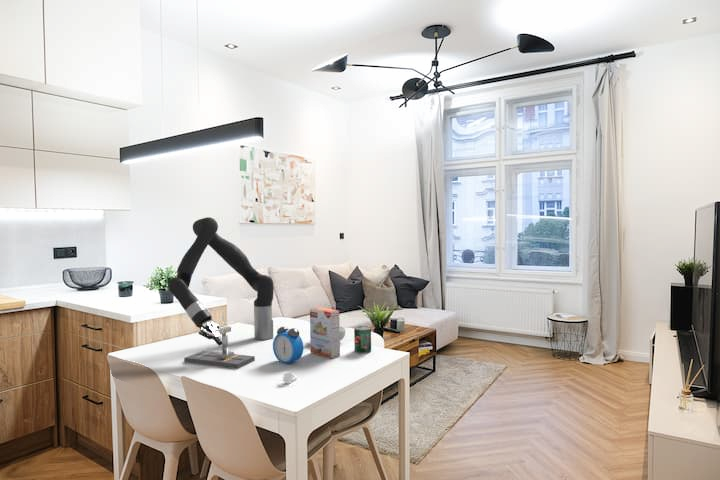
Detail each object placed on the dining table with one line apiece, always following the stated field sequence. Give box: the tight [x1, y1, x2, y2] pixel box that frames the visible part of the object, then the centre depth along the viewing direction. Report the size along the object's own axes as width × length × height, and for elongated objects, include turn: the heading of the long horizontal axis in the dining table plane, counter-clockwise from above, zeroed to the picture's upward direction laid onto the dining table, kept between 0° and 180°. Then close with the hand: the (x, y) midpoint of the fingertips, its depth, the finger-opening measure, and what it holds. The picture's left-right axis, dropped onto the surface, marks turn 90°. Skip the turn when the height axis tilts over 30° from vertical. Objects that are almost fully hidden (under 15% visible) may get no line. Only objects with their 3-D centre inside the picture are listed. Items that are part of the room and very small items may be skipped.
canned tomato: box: [353, 325, 372, 354], centre depth 213 cm, size 8×8×11 cm
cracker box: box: [309, 306, 341, 359], centre depth 207 cm, size 14×6×21 cm, turn 47°
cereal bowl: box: [339, 325, 346, 342], centre depth 229 cm, size 17×17×7 cm
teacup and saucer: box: [276, 371, 300, 388], centre depth 171 cm, size 9×8×4 cm
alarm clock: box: [272, 326, 304, 365], centre depth 197 cm, size 13×6×15 cm, turn 54°
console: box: [183, 350, 256, 370], centre depth 199 cm, size 28×12×2 cm, turn 68°
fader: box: [216, 326, 235, 359], centre depth 198 cm, size 5×6×13 cm
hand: (221, 343), depth 198 cm, fingers closed
